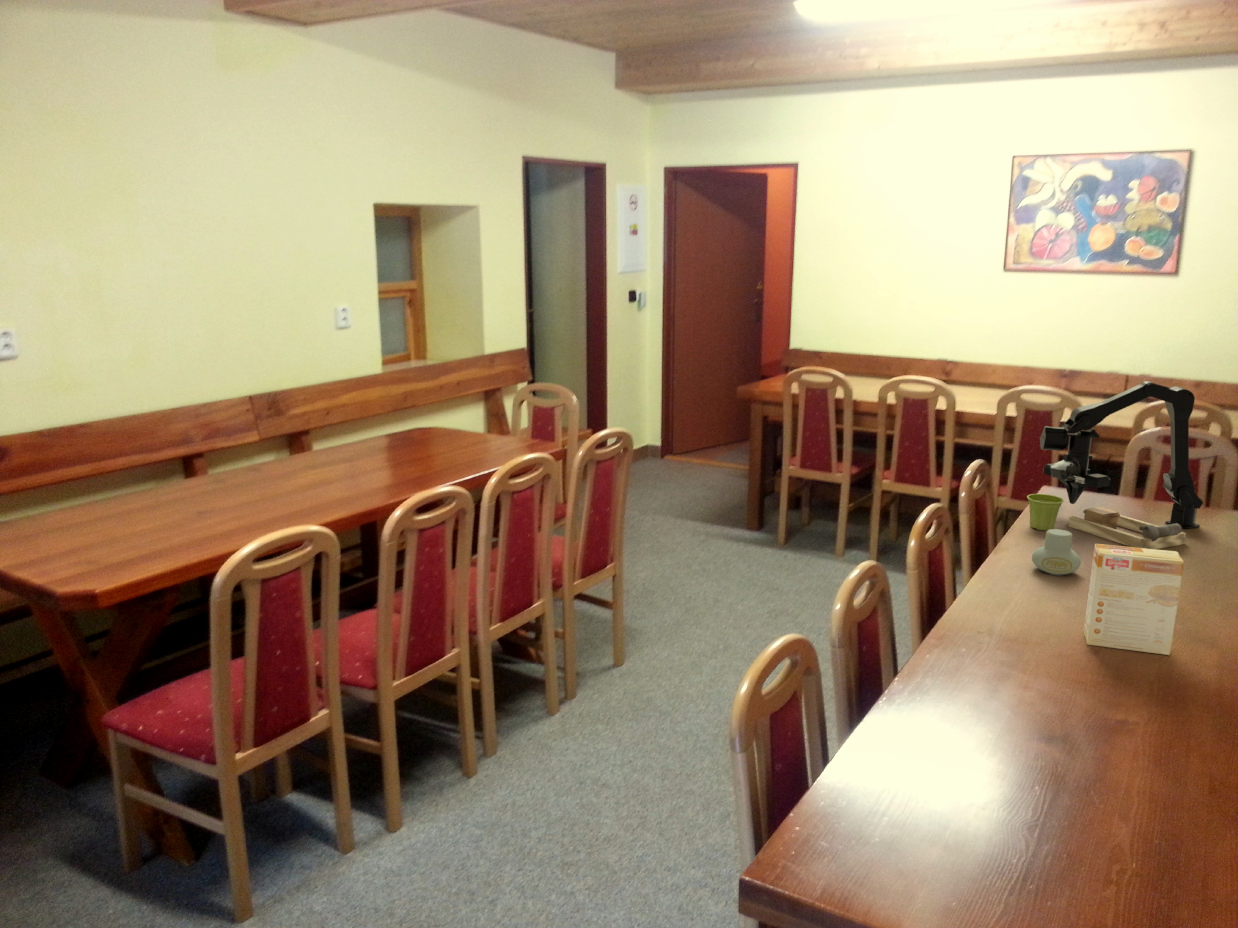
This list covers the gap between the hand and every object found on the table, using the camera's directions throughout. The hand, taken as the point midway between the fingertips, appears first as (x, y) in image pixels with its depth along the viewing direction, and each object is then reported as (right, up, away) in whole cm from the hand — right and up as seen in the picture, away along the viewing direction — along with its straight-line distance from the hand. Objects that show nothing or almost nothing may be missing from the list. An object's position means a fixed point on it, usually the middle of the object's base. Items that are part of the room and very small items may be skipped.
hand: (1072, 503), depth 279 cm
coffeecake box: (-31, -25, -87) cm, 96 cm away
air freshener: (-26, -15, -45) cm, 54 cm away
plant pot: (-13, -7, -9) cm, 17 cm away
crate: (+4, -6, -8) cm, 11 cm away
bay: (+7, -8, -15) cm, 18 cm away
